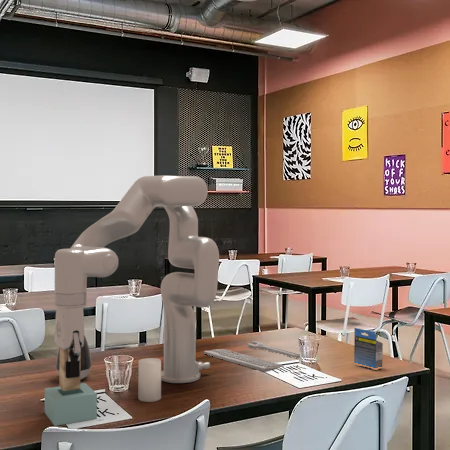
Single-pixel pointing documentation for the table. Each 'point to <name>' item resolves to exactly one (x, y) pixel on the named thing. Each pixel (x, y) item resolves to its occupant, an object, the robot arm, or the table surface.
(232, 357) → the keyboard
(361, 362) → the label tape cartridge
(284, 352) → the adjustable wrench
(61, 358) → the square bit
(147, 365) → the white pillar candle
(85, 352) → the dark brown egg shape
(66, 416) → the bore block
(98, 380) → the table surface
